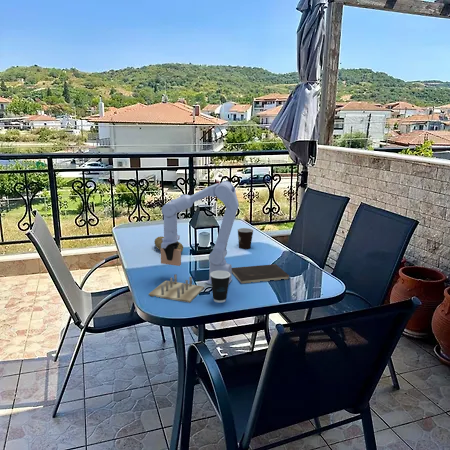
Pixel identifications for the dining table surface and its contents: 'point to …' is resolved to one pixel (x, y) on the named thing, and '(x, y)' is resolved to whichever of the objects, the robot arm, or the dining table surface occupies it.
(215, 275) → the dixie cup
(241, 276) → the hardcover book
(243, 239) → the coffee mug
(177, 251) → the brown rectangular block
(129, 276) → the dining table surface
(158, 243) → the sponge
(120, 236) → the dining table surface
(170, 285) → the dish rack
